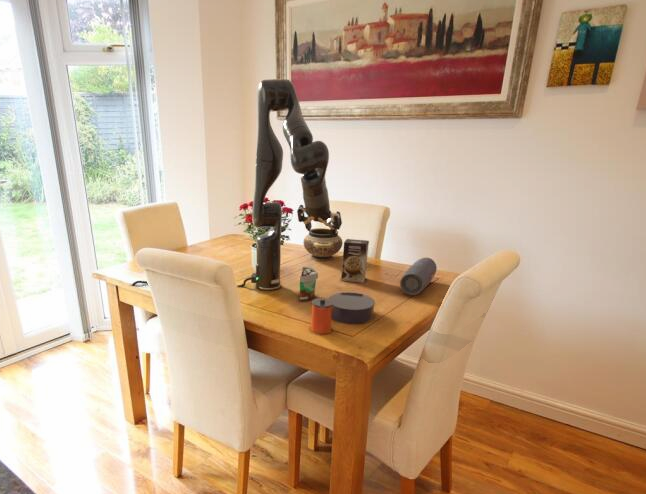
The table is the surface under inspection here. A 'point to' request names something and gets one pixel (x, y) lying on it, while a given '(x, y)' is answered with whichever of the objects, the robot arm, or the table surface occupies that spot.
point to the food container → (307, 283)
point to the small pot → (321, 315)
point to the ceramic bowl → (322, 243)
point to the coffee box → (354, 260)
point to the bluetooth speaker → (418, 276)
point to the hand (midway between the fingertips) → (321, 231)
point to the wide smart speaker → (352, 307)
